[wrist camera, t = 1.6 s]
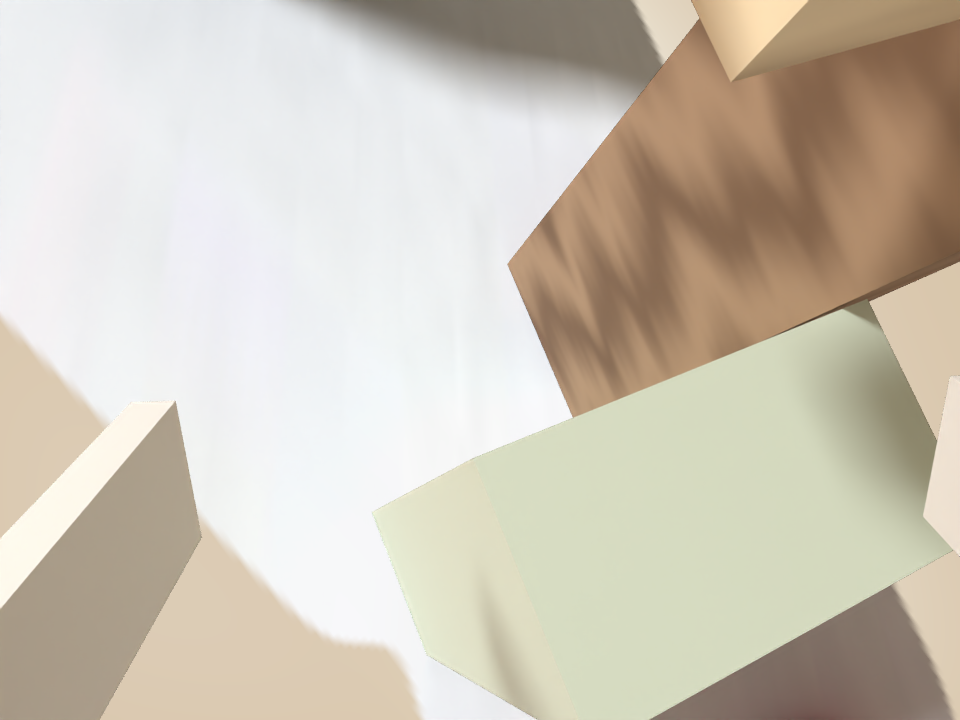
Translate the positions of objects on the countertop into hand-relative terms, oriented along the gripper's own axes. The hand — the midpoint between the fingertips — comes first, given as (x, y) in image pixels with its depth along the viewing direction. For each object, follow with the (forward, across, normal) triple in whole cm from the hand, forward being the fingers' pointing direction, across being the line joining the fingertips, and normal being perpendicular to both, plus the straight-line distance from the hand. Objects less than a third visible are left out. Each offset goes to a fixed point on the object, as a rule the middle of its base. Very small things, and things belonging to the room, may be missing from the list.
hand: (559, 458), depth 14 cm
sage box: (+20, 0, -15) cm, 25 cm away
